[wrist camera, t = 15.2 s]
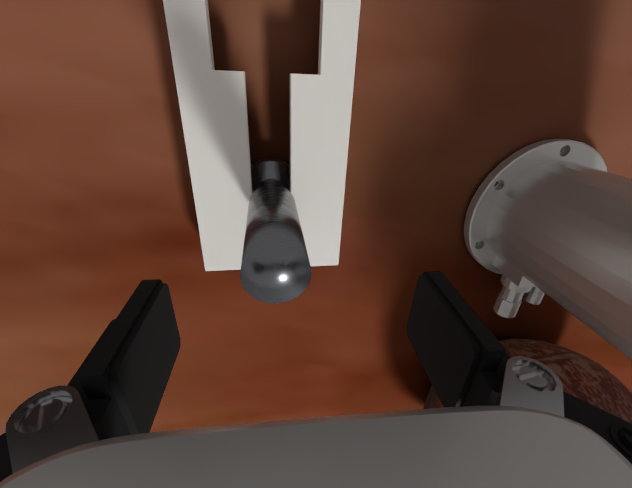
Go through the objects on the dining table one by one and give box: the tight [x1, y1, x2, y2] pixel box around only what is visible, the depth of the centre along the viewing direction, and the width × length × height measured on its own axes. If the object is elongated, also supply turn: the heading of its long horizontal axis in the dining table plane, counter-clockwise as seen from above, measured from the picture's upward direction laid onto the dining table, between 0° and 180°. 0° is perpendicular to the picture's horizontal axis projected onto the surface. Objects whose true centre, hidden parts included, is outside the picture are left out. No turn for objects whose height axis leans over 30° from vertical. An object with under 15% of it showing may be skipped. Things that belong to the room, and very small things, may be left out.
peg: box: [240, 158, 311, 303], centre depth 18 cm, size 4×4×12 cm
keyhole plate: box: [163, 0, 361, 271], centre depth 20 cm, size 20×10×3 cm, turn 178°
